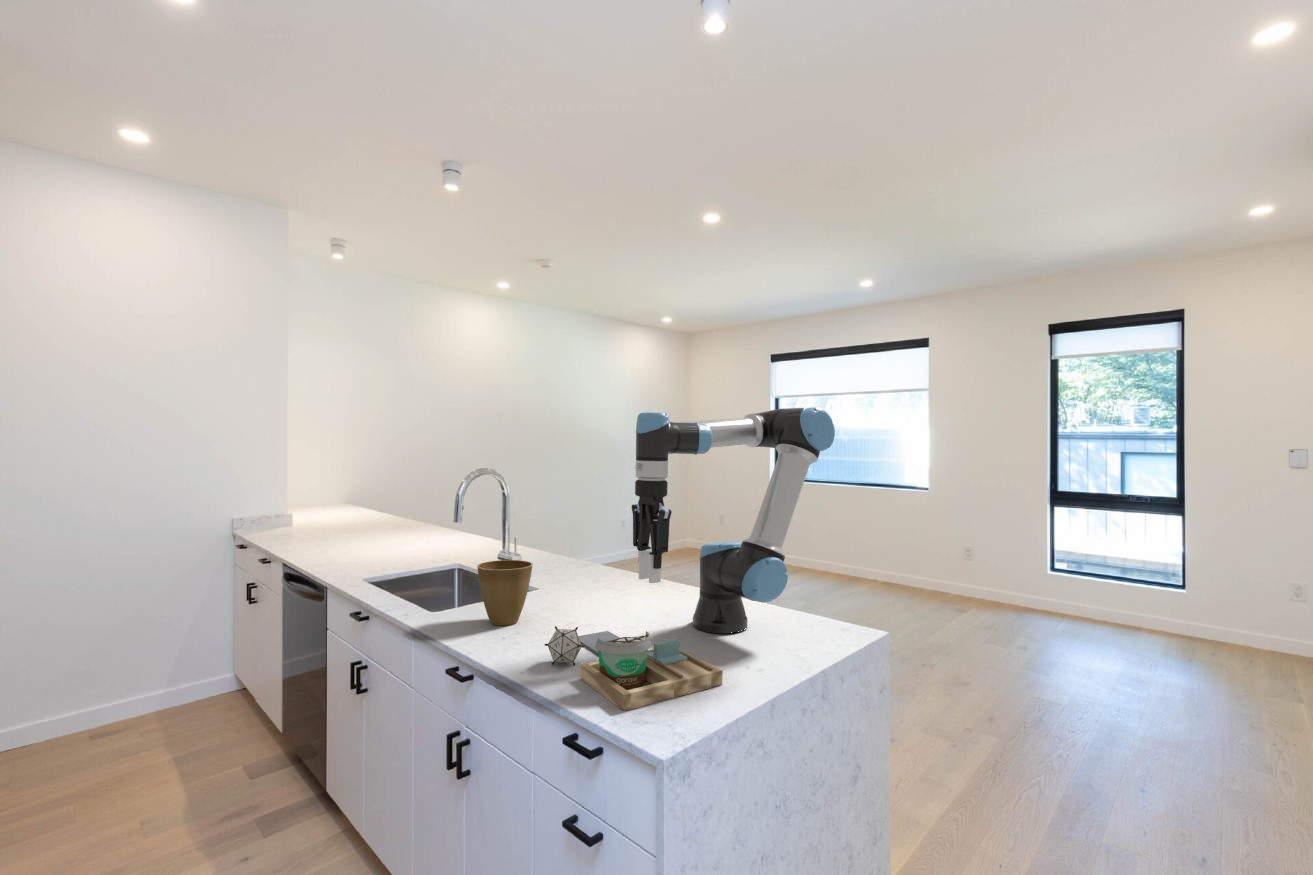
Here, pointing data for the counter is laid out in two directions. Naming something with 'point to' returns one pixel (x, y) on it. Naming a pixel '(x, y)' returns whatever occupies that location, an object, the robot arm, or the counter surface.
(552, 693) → the counter surface
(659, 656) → the cover
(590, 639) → the mat
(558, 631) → the game die
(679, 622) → the counter surface
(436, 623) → the counter surface
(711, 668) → the wooden compartment tray
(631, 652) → the food container
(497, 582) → the plant pot
